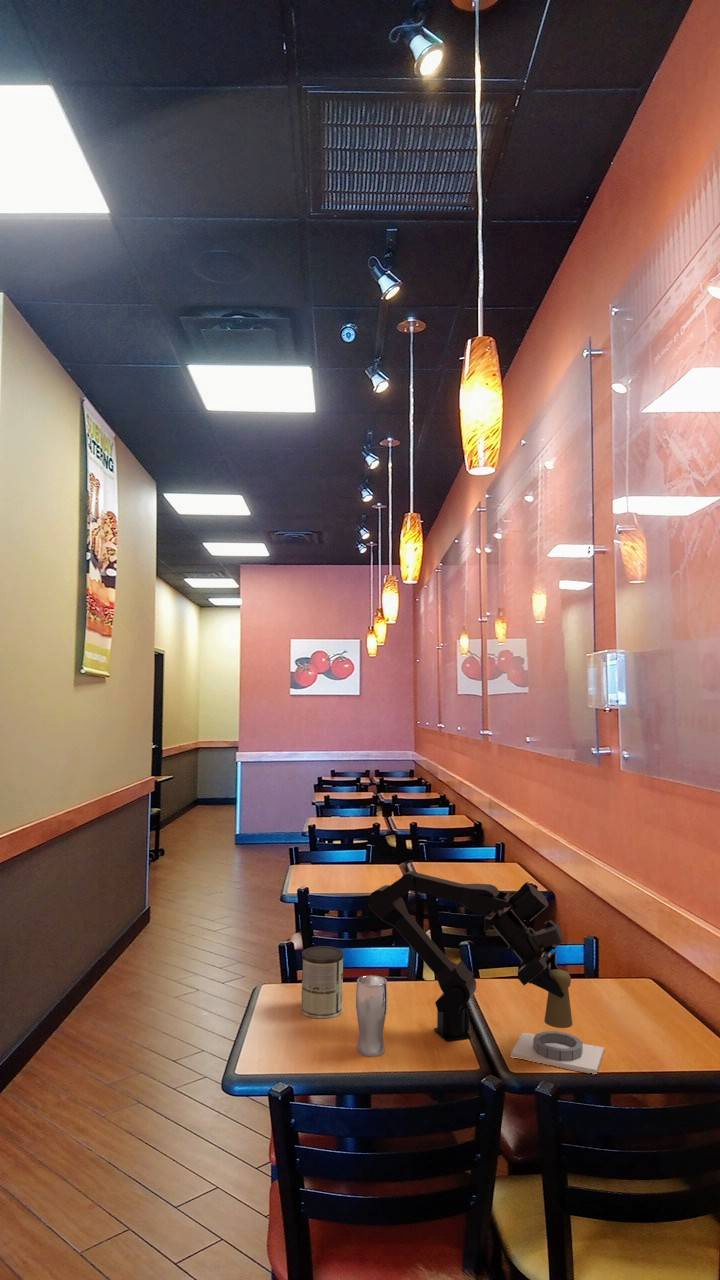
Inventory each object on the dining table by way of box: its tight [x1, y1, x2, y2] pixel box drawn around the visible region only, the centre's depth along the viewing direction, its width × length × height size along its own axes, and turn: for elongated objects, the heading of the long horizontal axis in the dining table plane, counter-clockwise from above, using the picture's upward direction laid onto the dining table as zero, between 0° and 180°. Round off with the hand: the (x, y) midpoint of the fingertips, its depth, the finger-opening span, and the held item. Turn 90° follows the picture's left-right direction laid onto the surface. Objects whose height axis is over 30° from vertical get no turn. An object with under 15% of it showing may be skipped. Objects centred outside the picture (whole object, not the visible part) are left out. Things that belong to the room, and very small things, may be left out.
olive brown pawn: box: [544, 969, 573, 1029], centre depth 178 cm, size 6×6×11 cm
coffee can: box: [300, 945, 345, 1020], centre depth 200 cm, size 10×10×14 cm
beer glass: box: [355, 975, 389, 1058], centre depth 177 cm, size 7×7×15 cm
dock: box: [510, 1030, 605, 1075], centre depth 177 cm, size 18×12×3 cm, turn 66°
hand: (564, 992), depth 178 cm, fingers closed on olive brown pawn, 5 cm apart
